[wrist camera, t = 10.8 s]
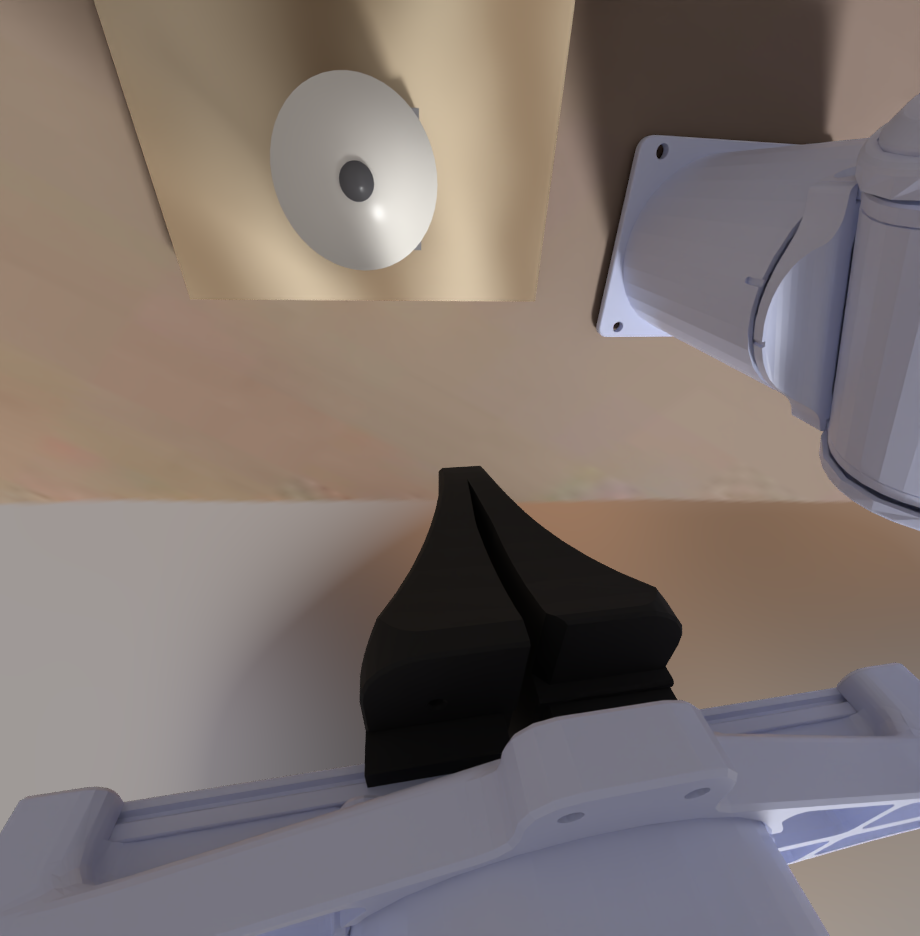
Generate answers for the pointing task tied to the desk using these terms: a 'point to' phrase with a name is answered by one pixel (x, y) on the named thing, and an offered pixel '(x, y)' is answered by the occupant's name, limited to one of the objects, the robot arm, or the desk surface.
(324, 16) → the button panel
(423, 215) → the off-white button
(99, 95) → the desk surface
